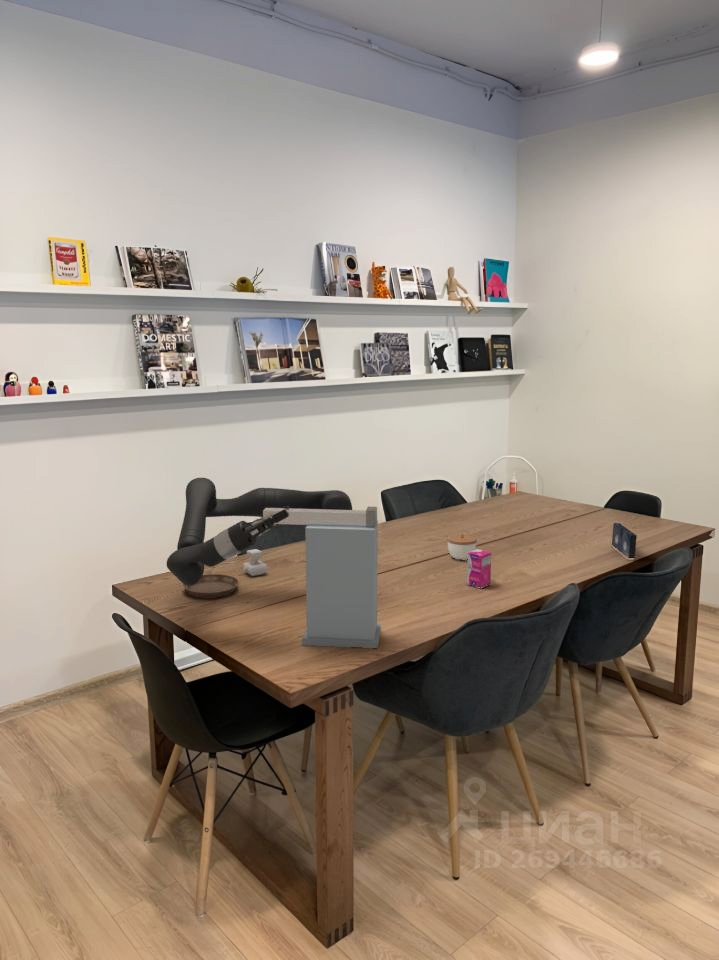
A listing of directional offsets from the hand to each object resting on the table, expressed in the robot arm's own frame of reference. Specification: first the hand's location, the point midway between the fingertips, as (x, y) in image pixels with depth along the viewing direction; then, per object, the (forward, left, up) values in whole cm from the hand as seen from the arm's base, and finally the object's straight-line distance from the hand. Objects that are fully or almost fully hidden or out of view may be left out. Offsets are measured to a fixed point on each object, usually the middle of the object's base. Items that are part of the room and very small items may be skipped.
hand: (288, 510), depth 198 cm
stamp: (-53, +20, -36) cm, 67 cm away
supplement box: (+3, +72, -35) cm, 81 cm away
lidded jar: (-22, +90, -35) cm, 99 cm away
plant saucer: (-47, 0, -36) cm, 59 cm away
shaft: (+6, +6, -3) cm, 9 cm away
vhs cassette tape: (+12, +143, -36) cm, 148 cm away
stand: (+10, +10, -35) cm, 38 cm away
